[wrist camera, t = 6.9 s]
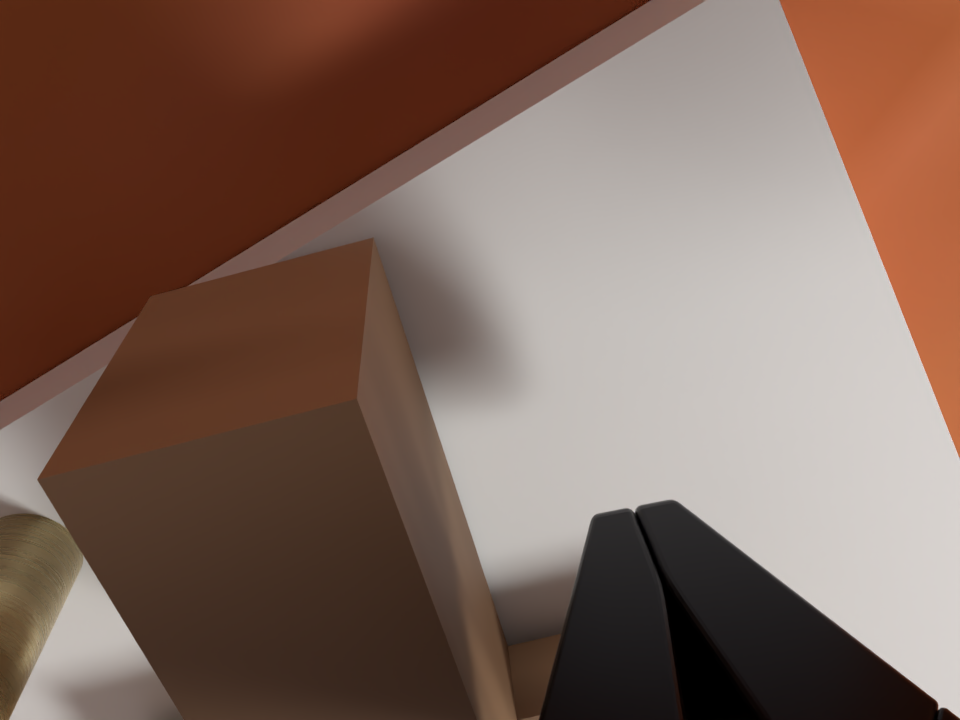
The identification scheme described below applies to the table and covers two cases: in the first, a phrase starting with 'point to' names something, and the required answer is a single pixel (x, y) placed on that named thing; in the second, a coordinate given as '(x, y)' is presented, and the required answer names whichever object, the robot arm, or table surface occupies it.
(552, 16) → the table surface
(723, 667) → the robot arm
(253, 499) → the block
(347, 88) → the table surface
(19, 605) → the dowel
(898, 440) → the board
